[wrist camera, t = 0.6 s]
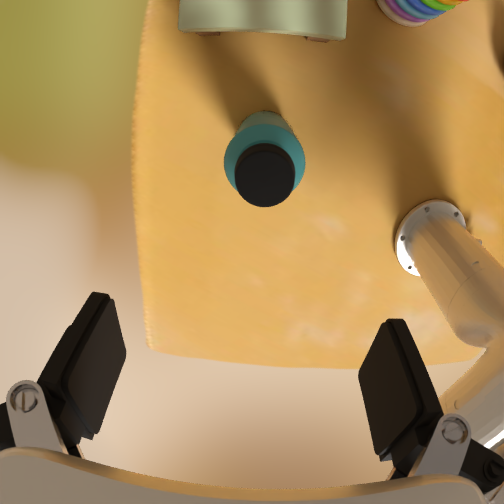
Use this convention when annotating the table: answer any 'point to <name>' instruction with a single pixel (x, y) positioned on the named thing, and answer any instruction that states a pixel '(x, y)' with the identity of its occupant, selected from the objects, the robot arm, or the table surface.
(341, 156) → the table surface
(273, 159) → the beverage bottle
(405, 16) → the stacking toy
